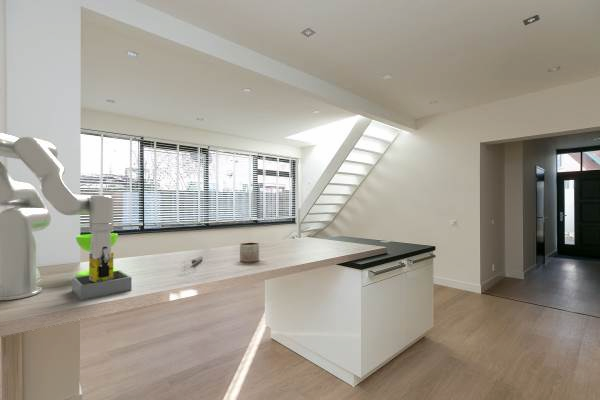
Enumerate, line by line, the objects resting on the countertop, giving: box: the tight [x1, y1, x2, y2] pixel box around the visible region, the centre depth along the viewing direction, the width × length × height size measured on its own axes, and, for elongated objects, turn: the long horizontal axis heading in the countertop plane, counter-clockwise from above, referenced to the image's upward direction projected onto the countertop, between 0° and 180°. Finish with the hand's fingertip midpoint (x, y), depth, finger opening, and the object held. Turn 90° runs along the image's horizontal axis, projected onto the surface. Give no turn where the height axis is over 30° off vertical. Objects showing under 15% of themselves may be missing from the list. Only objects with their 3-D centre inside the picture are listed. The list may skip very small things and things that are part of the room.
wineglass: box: [75, 232, 119, 277], centre depth 134 cm, size 16×16×18 cm
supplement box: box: [88, 251, 114, 283], centre depth 109 cm, size 6×6×11 cm
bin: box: [71, 269, 132, 301], centre depth 109 cm, size 16×16×5 cm
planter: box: [239, 241, 260, 263], centre depth 163 cm, size 11×11×10 cm
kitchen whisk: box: [180, 255, 203, 274], centre depth 149 cm, size 6×34×6 cm, turn 7°
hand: (101, 274), depth 109 cm, fingers closed on supplement box, 6 cm apart
